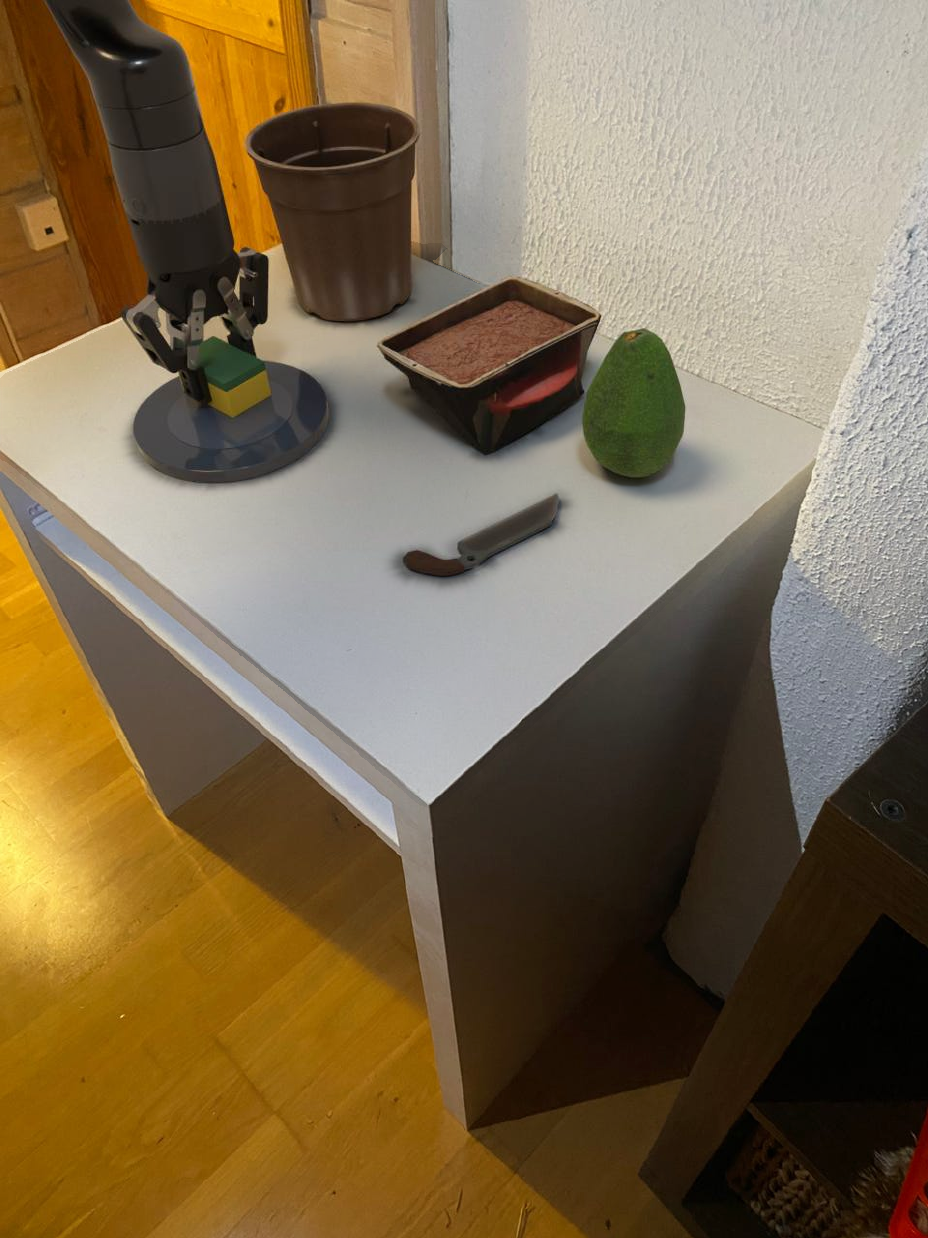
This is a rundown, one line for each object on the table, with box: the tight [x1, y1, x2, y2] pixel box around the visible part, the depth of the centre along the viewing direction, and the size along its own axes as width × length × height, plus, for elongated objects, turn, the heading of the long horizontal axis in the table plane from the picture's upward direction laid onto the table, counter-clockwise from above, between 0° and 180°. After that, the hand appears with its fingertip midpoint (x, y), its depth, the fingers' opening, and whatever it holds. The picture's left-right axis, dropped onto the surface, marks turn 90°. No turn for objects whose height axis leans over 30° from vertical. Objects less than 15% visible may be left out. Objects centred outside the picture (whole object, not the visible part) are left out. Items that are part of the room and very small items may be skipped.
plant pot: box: [244, 101, 421, 322], centre depth 92 cm, size 16×16×16 cm
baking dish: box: [376, 275, 603, 456], centre depth 81 cm, size 14×18×10 cm
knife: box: [402, 493, 560, 577], centre depth 70 cm, size 14×4×1 cm, turn 125°
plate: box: [132, 360, 330, 484], centre depth 82 cm, size 17×17×1 cm
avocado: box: [581, 327, 686, 478], centre depth 72 cm, size 8×8×12 cm
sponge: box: [177, 335, 271, 418], centre depth 82 cm, size 4×7×4 cm, turn 50°
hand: (224, 386), depth 83 cm, fingers closed on sponge, 4 cm apart
